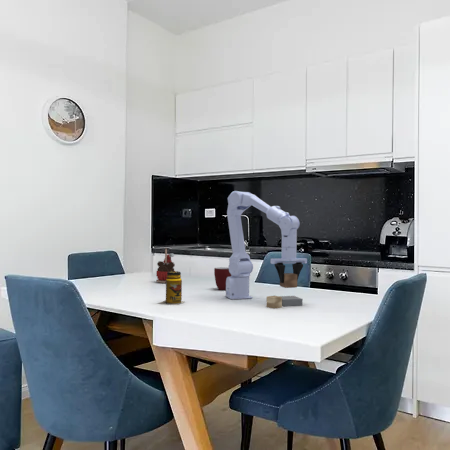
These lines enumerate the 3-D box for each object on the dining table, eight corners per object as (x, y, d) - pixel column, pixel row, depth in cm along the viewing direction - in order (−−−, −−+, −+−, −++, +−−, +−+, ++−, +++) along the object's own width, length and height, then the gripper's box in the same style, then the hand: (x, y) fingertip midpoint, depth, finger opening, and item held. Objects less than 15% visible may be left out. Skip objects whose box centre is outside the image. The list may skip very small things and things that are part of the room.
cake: (151, 282, 240) (152, 247, 240) (164, 280, 248) (164, 246, 247) (167, 284, 234) (167, 248, 234) (179, 282, 241) (179, 247, 241)
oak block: (273, 308, 170) (273, 297, 170) (266, 307, 173) (266, 296, 173) (281, 307, 172) (281, 296, 172) (274, 306, 176) (274, 295, 176)
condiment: (178, 305, 175) (178, 273, 175) (157, 303, 178) (157, 272, 178) (185, 302, 182) (185, 271, 182) (165, 300, 185) (166, 270, 185)
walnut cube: (285, 287, 177) (285, 274, 177) (279, 286, 182) (279, 273, 182) (297, 287, 178) (297, 274, 178) (291, 285, 183) (291, 273, 183)
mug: (207, 288, 220) (208, 267, 220) (221, 287, 225) (221, 266, 225) (220, 291, 211) (221, 269, 211) (234, 290, 216) (235, 268, 216)
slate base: (283, 306, 175) (283, 299, 175) (274, 302, 183) (274, 296, 183) (302, 305, 177) (302, 298, 177) (293, 302, 185) (293, 295, 185)
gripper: (275, 247, 174) (275, 284, 174) (310, 247, 178) (310, 283, 178) (268, 246, 181) (268, 281, 181) (302, 246, 185) (302, 280, 185)
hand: (288, 282), depth 180 cm, fingers closed on walnut cube, 5 cm apart
